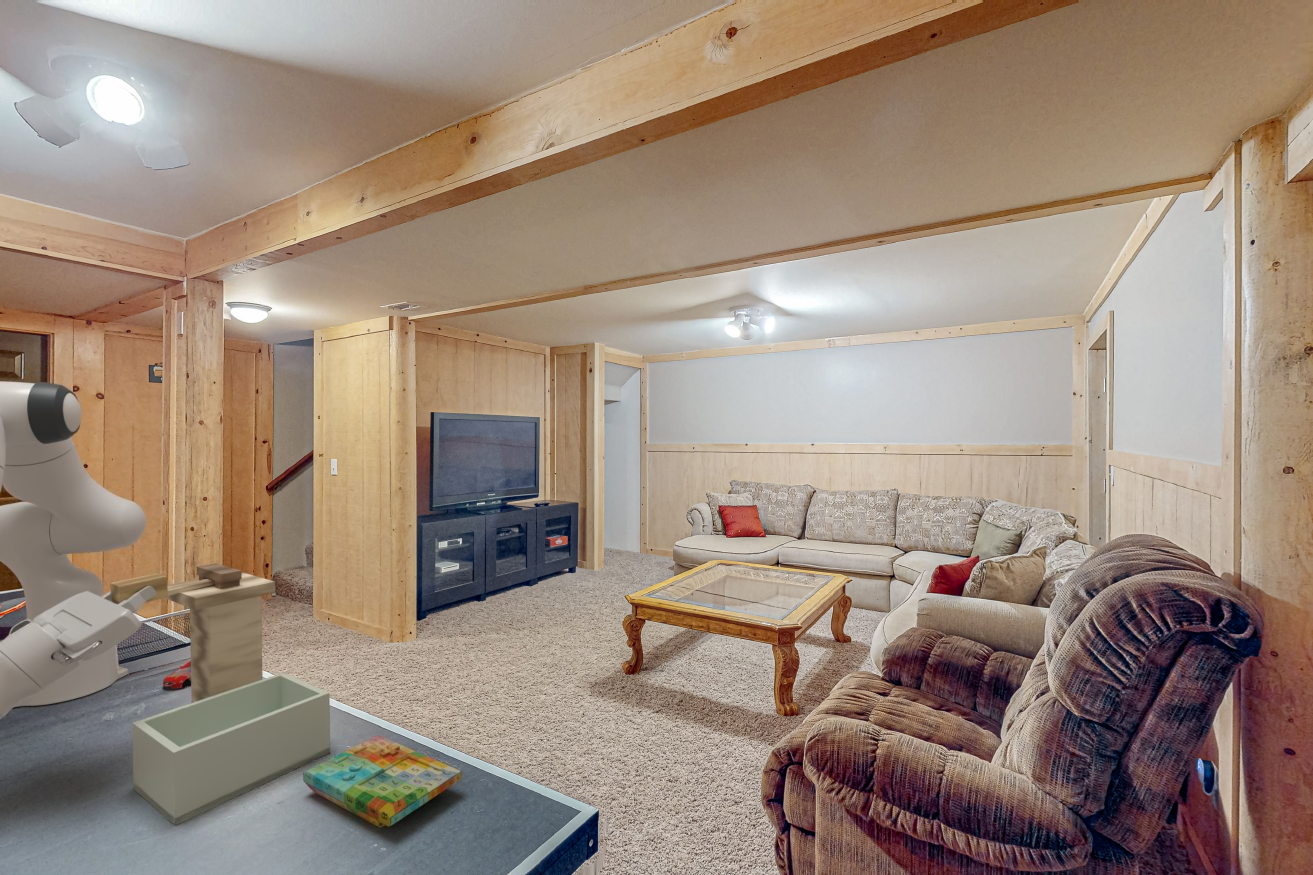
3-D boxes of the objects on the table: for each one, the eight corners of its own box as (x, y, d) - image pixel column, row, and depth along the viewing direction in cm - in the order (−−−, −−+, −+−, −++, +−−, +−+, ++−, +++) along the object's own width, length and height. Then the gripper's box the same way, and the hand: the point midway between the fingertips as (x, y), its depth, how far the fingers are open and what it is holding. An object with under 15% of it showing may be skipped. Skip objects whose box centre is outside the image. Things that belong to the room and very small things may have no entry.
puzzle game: (376, 729, 96) (461, 765, 86) (376, 758, 96) (462, 796, 86) (303, 766, 86) (390, 810, 76) (303, 797, 86) (391, 846, 76)
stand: (164, 731, 104) (161, 570, 104) (241, 704, 114) (238, 557, 114) (198, 755, 97) (195, 581, 96) (277, 723, 107) (274, 566, 106)
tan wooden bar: (112, 604, 94) (110, 582, 94) (233, 575, 109) (231, 557, 108) (120, 608, 92) (118, 586, 92) (243, 578, 106) (241, 559, 106)
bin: (133, 788, 88) (132, 722, 88) (284, 727, 106) (283, 672, 105) (175, 825, 80) (173, 752, 80) (330, 752, 98) (329, 692, 97)
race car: (175, 693, 120) (175, 674, 120) (155, 690, 121) (155, 671, 121) (237, 667, 132) (236, 649, 132) (218, 664, 134) (217, 647, 134)
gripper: (48, 651, 79) (158, 580, 89) (9, 624, 90) (111, 563, 100) (81, 682, 82) (184, 610, 92) (39, 652, 93) (135, 591, 103)
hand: (146, 586), depth 96 cm, fingers closed on tan wooden bar, 4 cm apart
